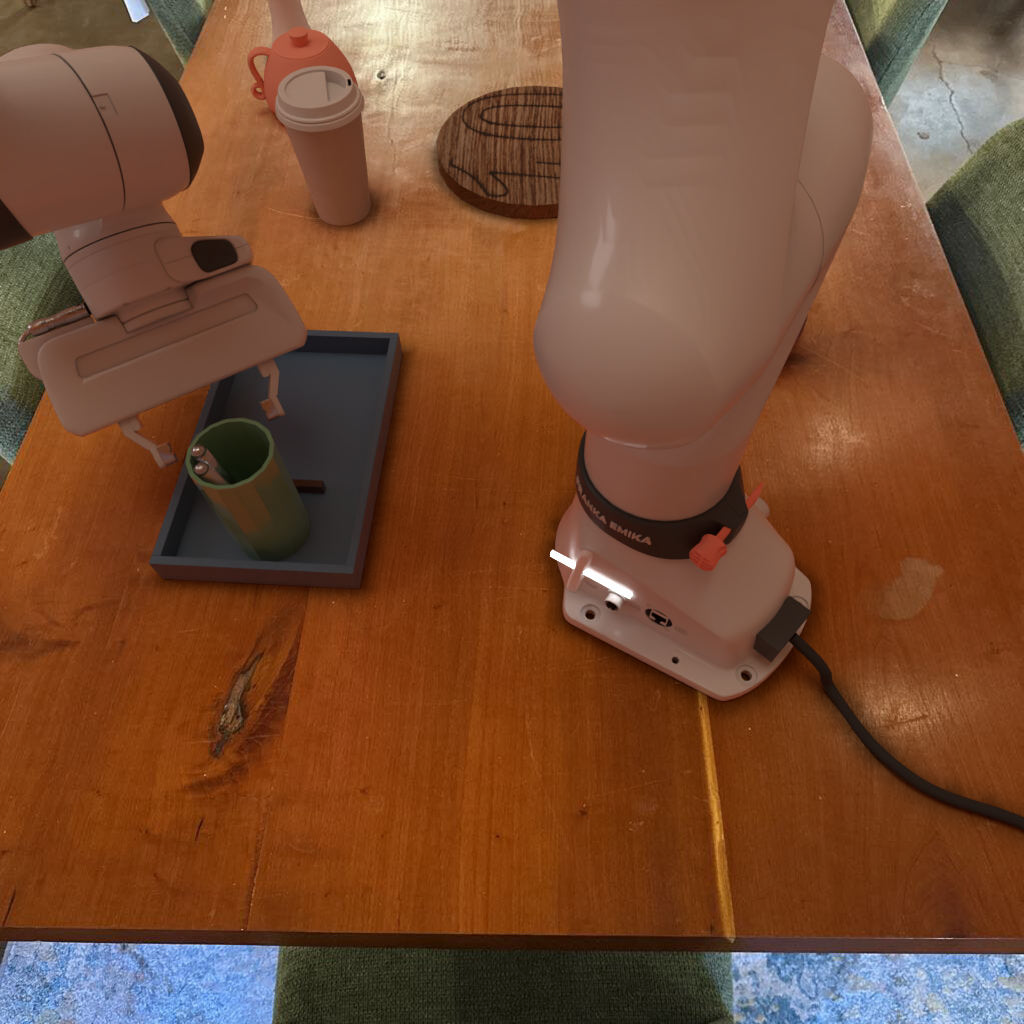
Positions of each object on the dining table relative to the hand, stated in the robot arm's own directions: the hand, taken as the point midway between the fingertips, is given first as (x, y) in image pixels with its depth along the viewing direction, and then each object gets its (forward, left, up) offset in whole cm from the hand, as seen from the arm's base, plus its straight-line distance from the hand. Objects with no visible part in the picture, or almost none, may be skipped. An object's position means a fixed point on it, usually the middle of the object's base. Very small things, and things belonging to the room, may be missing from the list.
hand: (224, 441), depth 64 cm
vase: (+56, -53, -9) cm, 77 cm away
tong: (-3, +1, -8) cm, 8 cm away
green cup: (-4, +1, -8) cm, 9 cm away
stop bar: (-2, -2, -8) cm, 9 cm away
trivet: (+14, -57, -9) cm, 59 cm away
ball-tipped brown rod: (-6, +1, -8) cm, 10 cm away
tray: (+1, -5, -9) cm, 10 cm away
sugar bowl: (+44, -45, -9) cm, 63 cm away
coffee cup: (+25, -34, -9) cm, 43 cm away
